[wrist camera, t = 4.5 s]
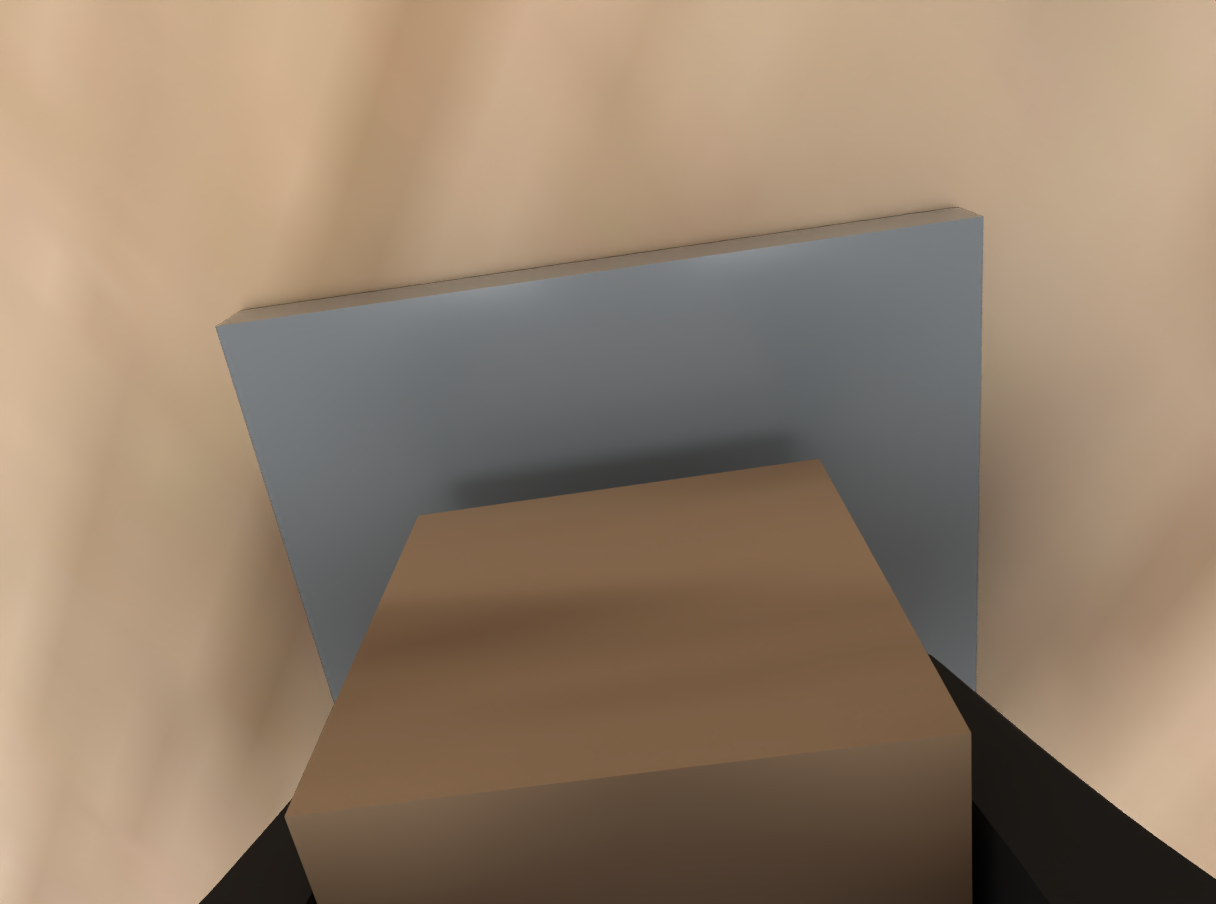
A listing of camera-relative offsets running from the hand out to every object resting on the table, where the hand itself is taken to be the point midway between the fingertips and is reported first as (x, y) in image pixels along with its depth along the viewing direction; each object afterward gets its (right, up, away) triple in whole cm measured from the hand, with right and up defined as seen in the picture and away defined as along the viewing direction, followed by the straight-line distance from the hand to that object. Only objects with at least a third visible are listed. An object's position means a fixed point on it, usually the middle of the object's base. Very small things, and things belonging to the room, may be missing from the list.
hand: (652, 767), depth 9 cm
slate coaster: (0, +1, +4) cm, 4 cm away
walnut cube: (0, +1, +2) cm, 2 cm away
